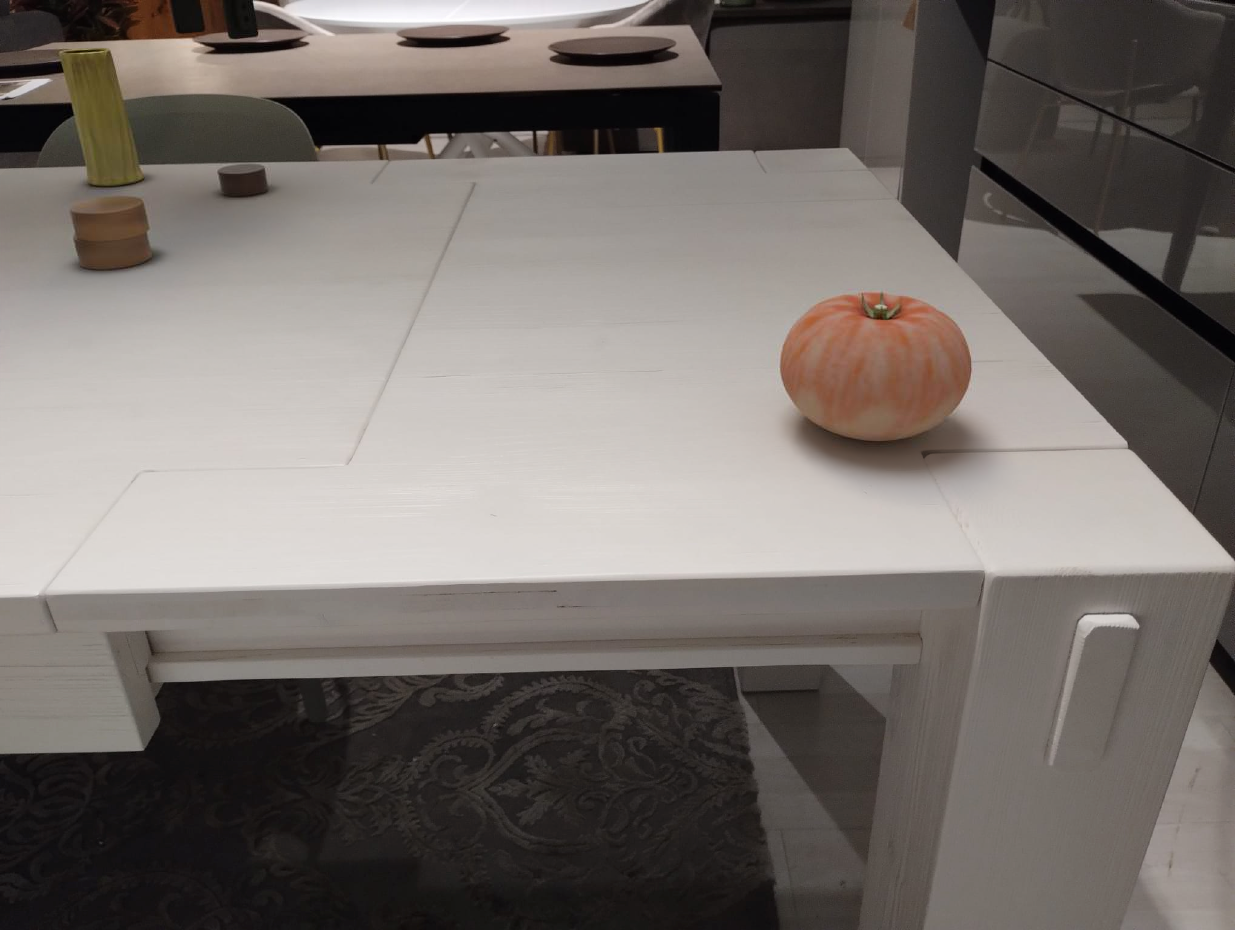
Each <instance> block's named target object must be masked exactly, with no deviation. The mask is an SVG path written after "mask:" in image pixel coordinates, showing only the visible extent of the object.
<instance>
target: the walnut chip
mask: <svg viewBox="0 0 1235 930" xmlns="http://www.w3.org/2000/svg"><path fill="white" fill-rule="evenodd" d="M217 176H218V182H219V186H220V191H221V194H222V195H224V196H225V197H236V198H237V197H238V198H239V197H240V198H241V197H252V196H256V195H261V194H264V193H266V192H268V191H269V185H268V184H269V183H268V178H267V173H266V167H265V166H264V165H262V164H259V163H258V164H257V163H240V164H239V163H237V164H231V165H226V166H223V167H220V168H218V169H217Z"/></svg>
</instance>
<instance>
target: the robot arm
mask: <svg viewBox="0 0 1235 930" xmlns="http://www.w3.org/2000/svg"><path fill="white" fill-rule="evenodd" d="M221 4H222V9H223V14H224V20H225V25H226V33H227V36H228V38H229V39H230V40H242V39H252V38H257V37H258V36H259V28H258V22H257V21H258V20H257V17H256V10H255V5H254V0H221ZM169 5H170V11H171V14H172V19H173V26H174V29H175V33H177V34H179V35H186V34H195V33H196V34H197V33H203V32H205V31H206V25H205V19H204V14H203V9H202V4H201V0H169Z"/></svg>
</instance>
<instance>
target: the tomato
mask: <svg viewBox="0 0 1235 930" xmlns="http://www.w3.org/2000/svg"><path fill="white" fill-rule="evenodd" d="M972 368H973V367H972V357H971V352H970V348H969V345H968V342H967V339H966V337H965V335H964V333H963V332H962V330H961V328H960V327H959V325H958V324H957V322H956V321H955V320H953V319H952V318H951V317H950V316H949V315H948V314H947V313H944V312H943V311H941V310H939V309H937V308H936V307H935V306H933V305H931V304H930V303H927V302H925V301H922V300H920V299H916V298H914V297H911V296H905V295H896V294H895V295H894V294H890V293H885V292H883V291H880V292H872V291H871V292H868V291H867V292H860V293H854V294H853V293H852V294H841V295H837V296H835V297H834V296H833V297H831V298H828V299H825V300H822V301H820V302H818V303H817V304H815V305H813V306H811V307H810V308H809V309H808V310H807V311H806V312H805V313H804V314H803V315H802V316H800V317H799V318H798V319H797V320H796V321H795V322H794V324H793V325H792V326H791V328H790V329H789V331H788V333H787V335H786V337H785V339H784V341H783V344H782V349H781V353H780V359H779V372H780V373H779V374H780V377H781V381H782V384H783V387H784V390H785V391H786V393H787V395H788V397H789V398H790V400H791V402H792V403H793V404H794V406H795V407H796V408H797V409H798V411H800V412H801V414H803V416H805V417H806V418H807V419H808V420H809V421H811V422H813V423H814V424H816V425H818V426H819V427H821V428H822V429H825V430H827V431H829V432H830V433H833V434H836V435H839V436H842V437H845V438H850V439H854V440H861V441H868V442H887V441H888V442H889V441H896V440H901V439H906V438H912V437H914V436H918V435H920V434H923V433H925V432H927V431H930V430H931V429H933V428H935V427H937V426H938V425H940V424H941V423H942V422H944V421H945V420H947V419H948V417H949V416H951V414H952V413H953V412H954V411H955V410H956V409H957V408H958V406H959V405H960V404H961V402H962V400H963V399H964V397H965V395H966V393H967V392H968V389H969V385H970V382H971V377H972V371H973V369H972Z"/></svg>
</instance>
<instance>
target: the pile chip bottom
mask: <svg viewBox="0 0 1235 930" xmlns="http://www.w3.org/2000/svg"><path fill="white" fill-rule="evenodd" d="M72 239H73V243H74V247H75V250H76V254H77V258H78V261H79V264H80V267H82V268H83V269H88V270H97V271H104V270H105V271H107V270H117V269H118V270H119V269H124V268H129V267H134V266H137V265H140V264H142V263H146V262H147V261H149V260H150V259H151V258H153V252H152V248H151V243H150V239H149V236H148V231H147V232H146V233H144V234H142V235H139V236H136V237H132V238H128V239H123V240H117V241H107V242H89V241H83V240H80V239H78V238H77V237H76V233H74V234H73V236H72Z"/></svg>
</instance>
